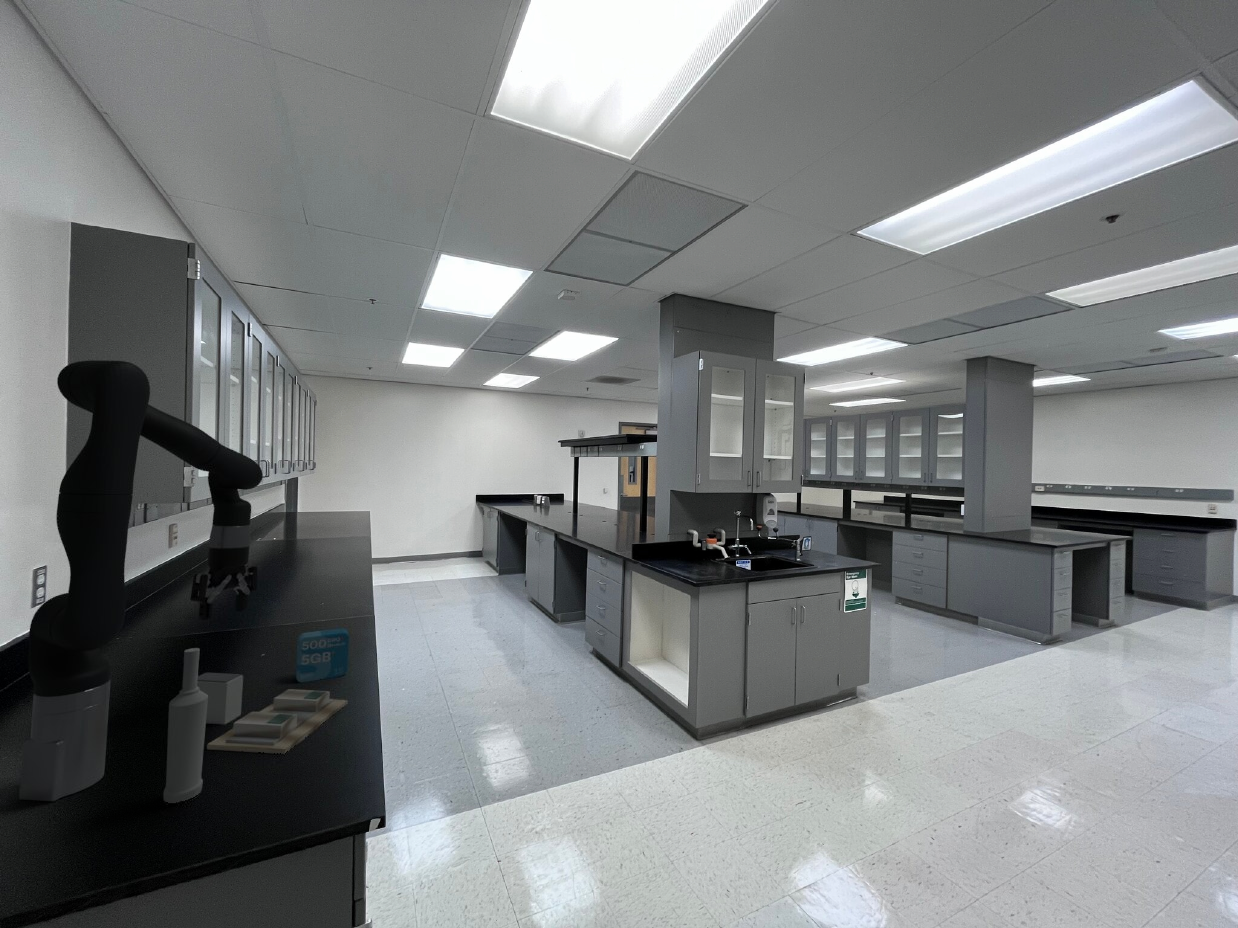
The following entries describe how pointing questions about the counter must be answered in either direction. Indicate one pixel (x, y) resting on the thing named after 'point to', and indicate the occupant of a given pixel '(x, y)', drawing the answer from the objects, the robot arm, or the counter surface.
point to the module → (221, 696)
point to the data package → (322, 655)
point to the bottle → (186, 735)
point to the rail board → (280, 723)
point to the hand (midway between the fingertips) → (223, 615)
